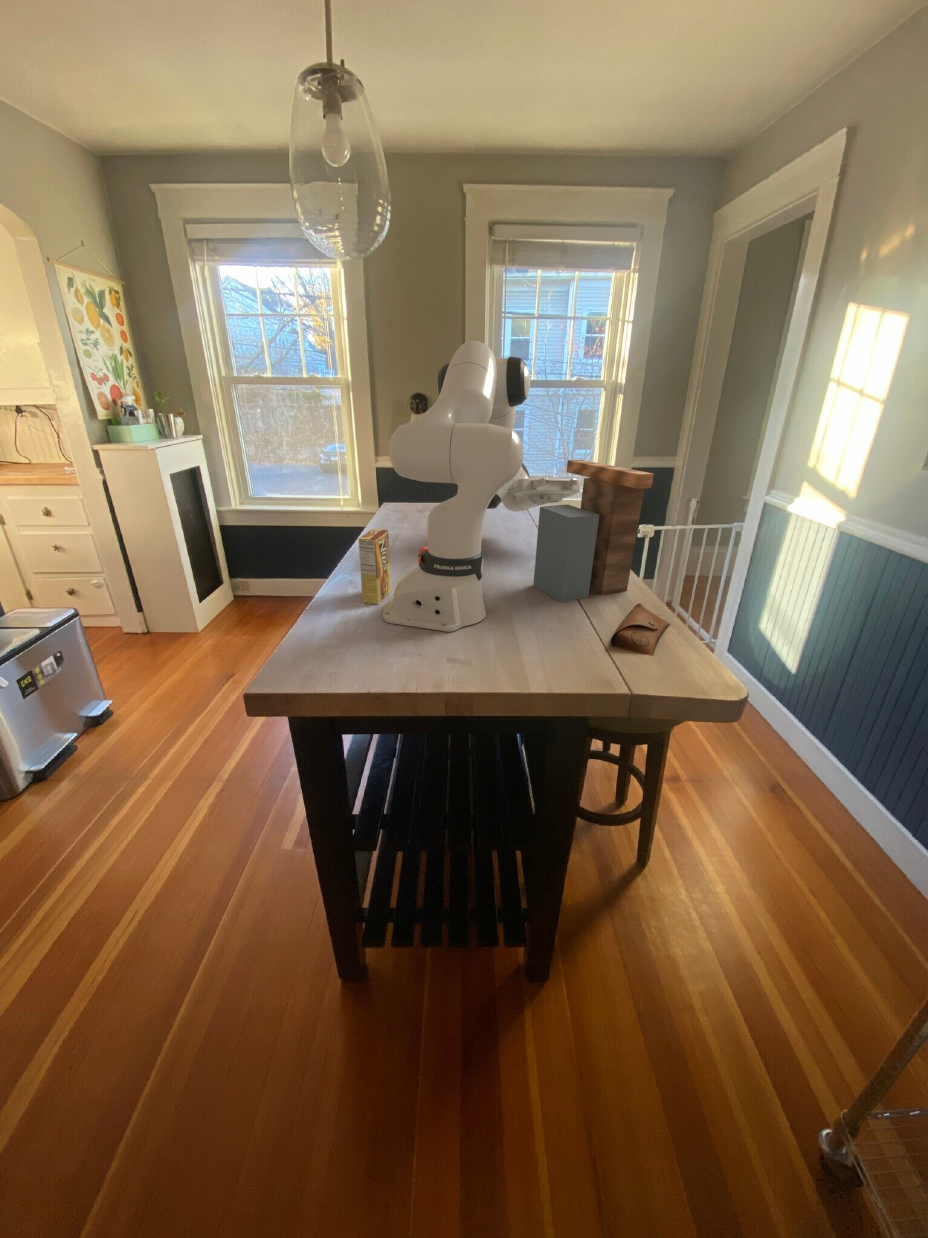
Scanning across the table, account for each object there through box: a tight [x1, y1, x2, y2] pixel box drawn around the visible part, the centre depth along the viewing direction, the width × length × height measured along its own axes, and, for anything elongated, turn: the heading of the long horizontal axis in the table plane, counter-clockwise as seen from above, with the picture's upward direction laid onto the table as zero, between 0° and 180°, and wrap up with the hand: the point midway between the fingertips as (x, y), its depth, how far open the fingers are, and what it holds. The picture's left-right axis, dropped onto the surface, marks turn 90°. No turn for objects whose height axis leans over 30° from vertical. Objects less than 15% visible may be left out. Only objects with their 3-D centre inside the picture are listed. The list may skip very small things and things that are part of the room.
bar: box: [566, 459, 655, 489], centre depth 115 cm, size 26×4×3 cm, turn 25°
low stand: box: [533, 503, 599, 603], centre depth 115 cm, size 12×8×20 cm, turn 25°
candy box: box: [358, 528, 391, 605], centre depth 111 cm, size 9×4×15 cm, turn 170°
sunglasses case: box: [610, 603, 671, 657], centre depth 98 cm, size 18×7×7 cm, turn 149°
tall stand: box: [579, 477, 645, 596], centre depth 119 cm, size 12×8×26 cm, turn 25°
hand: (561, 481), depth 133 cm, fingers open, 8 cm apart
